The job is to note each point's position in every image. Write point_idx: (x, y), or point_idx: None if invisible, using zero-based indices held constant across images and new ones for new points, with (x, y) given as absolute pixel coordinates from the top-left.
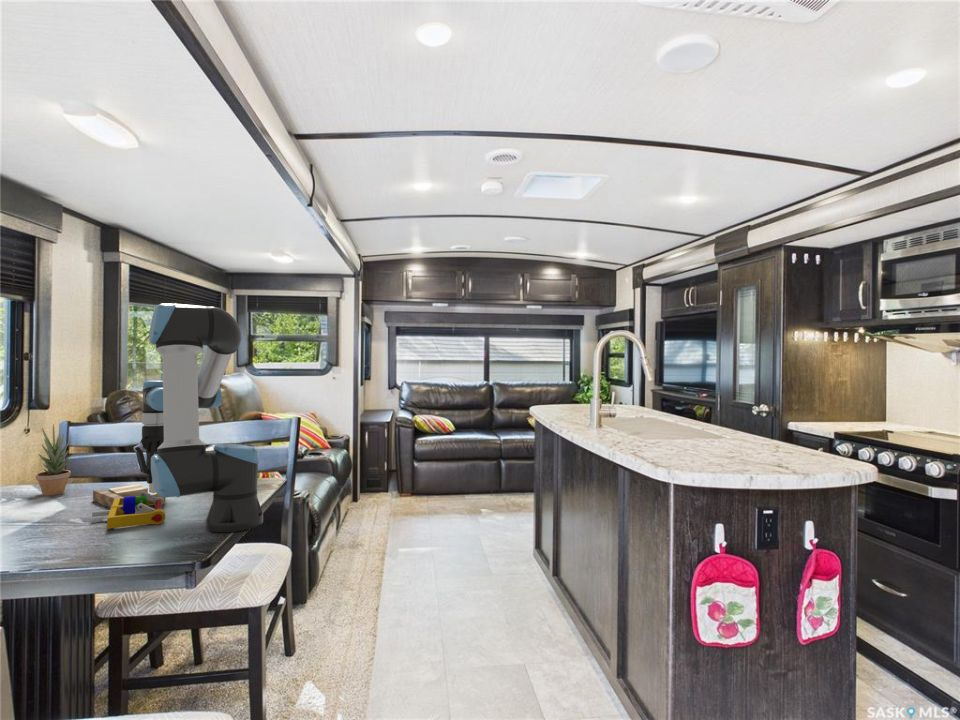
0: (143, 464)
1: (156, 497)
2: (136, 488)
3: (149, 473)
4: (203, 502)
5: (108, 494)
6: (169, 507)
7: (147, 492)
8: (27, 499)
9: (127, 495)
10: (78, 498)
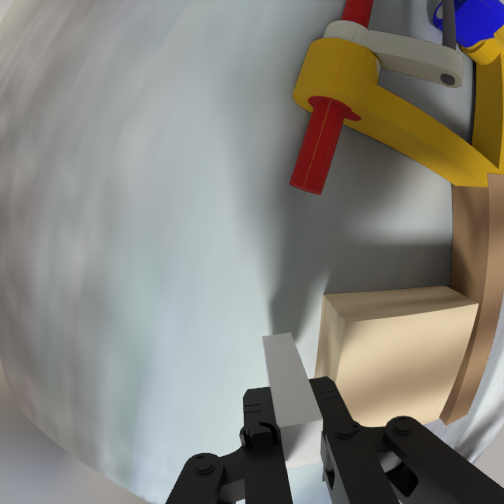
0: (460, 470)
1: (368, 43)
2: (384, 365)
3: (359, 425)
4: (131, 15)
5: (494, 306)
6: (294, 22)
7: (337, 310)
8: (470, 455)
9: (431, 301)
10: (439, 436)
